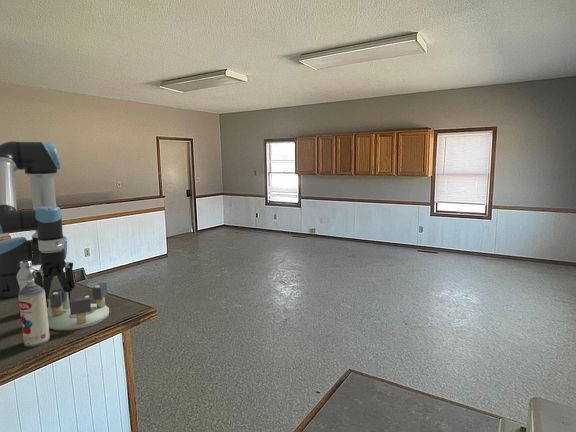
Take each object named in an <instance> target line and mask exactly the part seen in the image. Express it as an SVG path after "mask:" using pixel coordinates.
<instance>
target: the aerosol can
mask: <svg viewBox="0 0 576 432" xmlns="http://www.w3.org/2000/svg"><path fill="white" fill-rule="evenodd" d="M17 297H18V304H19V305H18V306H19V312H20V322H21V323H20V324H21V330H22V331H21V333H22V340H23V346H24V347H26V348H34V347H40V346H41V345H42V346H43V345H44V344H47V343H48V342H49V341H50V340H51V335H50V328H49V324H48V317H49V316H48V315H47V305H46V296H45V290H44V288H43V287H40V286H39V285H37V284H35V283H34V280H30V281H27V285H26V286H25V287H24V288H23V289H22V290H21V291H20V292H19V295H18V296H17Z"/></svg>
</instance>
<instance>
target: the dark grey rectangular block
mask: <svg viewBox="0 0 576 432" xmlns="http://www.w3.org/2000/svg"><path fill="white" fill-rule="evenodd" d="M62 291H63V288H60V289H54V290H53V289H52V290H51V293H50V294H49V295H50V297H49V298H50V299H51V308H52V312H53V313H54V316H60V315H62V314H63V306H62V303H63V294H62Z"/></svg>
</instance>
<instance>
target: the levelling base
mask: <svg viewBox="0 0 576 432" xmlns="http://www.w3.org/2000/svg"><path fill="white" fill-rule="evenodd" d="M90 305H91V311H90V312H86V323H84V324H77V316H76V314H74V315H71V312H70V309H68V310H67V309H63V314H62V315H60V316H54V312H52V316H51V317H50V316H48V324H49V329H51V330H53V331H73V330H80V329H85V328H89V327H91V326H94V325H98V324H99V323H101V322H102V321H104V320H106V319H107V318H108V317H109V315H110V308H109V306H107V305H106V304H105V307H102V308H97V303H90Z"/></svg>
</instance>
